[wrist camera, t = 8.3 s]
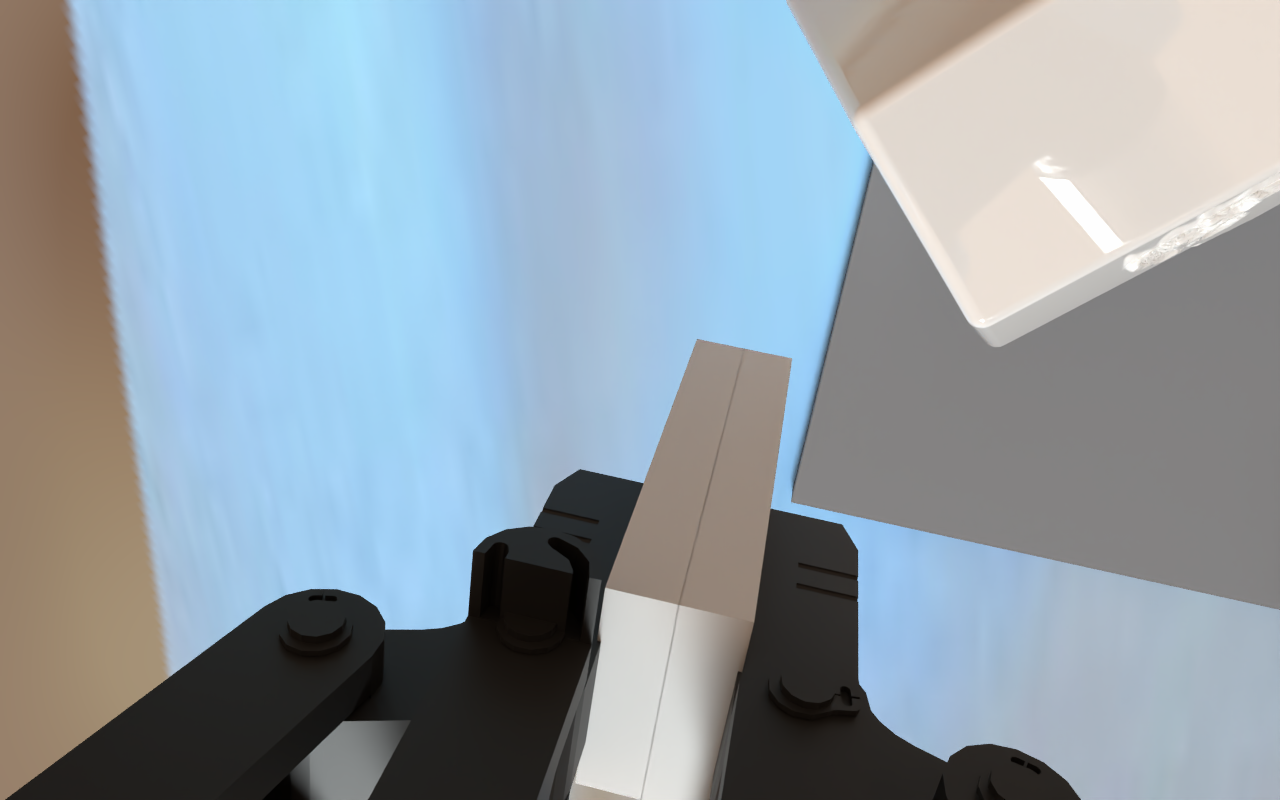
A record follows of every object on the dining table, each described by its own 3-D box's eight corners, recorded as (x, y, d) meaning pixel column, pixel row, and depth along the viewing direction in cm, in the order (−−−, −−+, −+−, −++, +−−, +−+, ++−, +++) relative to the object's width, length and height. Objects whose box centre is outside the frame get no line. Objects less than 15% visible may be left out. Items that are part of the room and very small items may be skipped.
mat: (1710, 15, 21) (1728, 17, 21) (1357, 617, 28) (1365, 628, 28) (938, -103, 23) (939, -104, 22) (792, 493, 30) (791, 502, 30)
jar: (968, 331, 16) (1873, -152, 12) (742, -66, 18) (1476, -600, 14) (1001, 366, 25) (1552, 82, 21) (844, 91, 26) (1325, -219, 22)
